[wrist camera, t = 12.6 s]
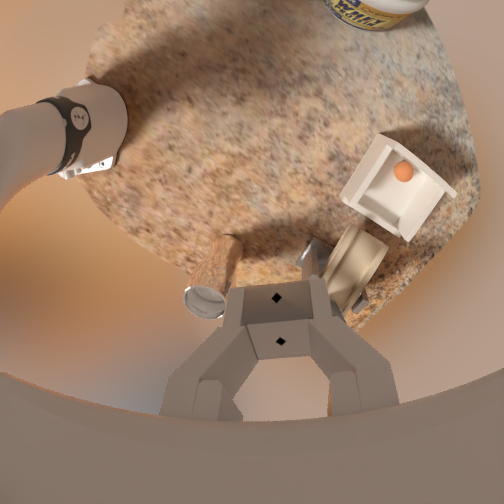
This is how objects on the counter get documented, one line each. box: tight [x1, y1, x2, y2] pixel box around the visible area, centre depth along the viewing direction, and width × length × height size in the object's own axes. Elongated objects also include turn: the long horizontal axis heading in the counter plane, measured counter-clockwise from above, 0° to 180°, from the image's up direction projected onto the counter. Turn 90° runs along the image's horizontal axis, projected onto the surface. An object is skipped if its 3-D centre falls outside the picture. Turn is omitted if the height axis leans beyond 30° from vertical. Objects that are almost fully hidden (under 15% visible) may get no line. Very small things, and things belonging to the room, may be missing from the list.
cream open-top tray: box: [339, 133, 458, 242], centre depth 36 cm, size 12×12×9 cm
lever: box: [319, 222, 390, 324], centre depth 38 cm, size 16×8×16 cm, turn 154°
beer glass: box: [183, 235, 244, 321], centre depth 44 cm, size 7×7×15 cm
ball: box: [394, 161, 414, 182], centre depth 36 cm, size 3×3×3 cm
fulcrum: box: [296, 236, 369, 314], centre depth 45 cm, size 6×12×9 cm, turn 64°
